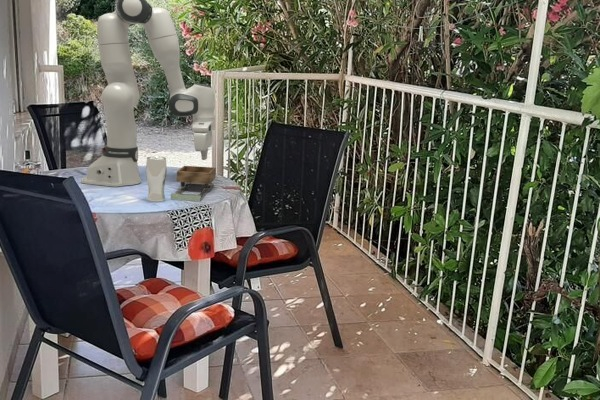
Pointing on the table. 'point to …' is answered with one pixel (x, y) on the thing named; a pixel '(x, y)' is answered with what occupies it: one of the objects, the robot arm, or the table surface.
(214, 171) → the tray
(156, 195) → the beer glass
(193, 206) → the table surface
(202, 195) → the track
